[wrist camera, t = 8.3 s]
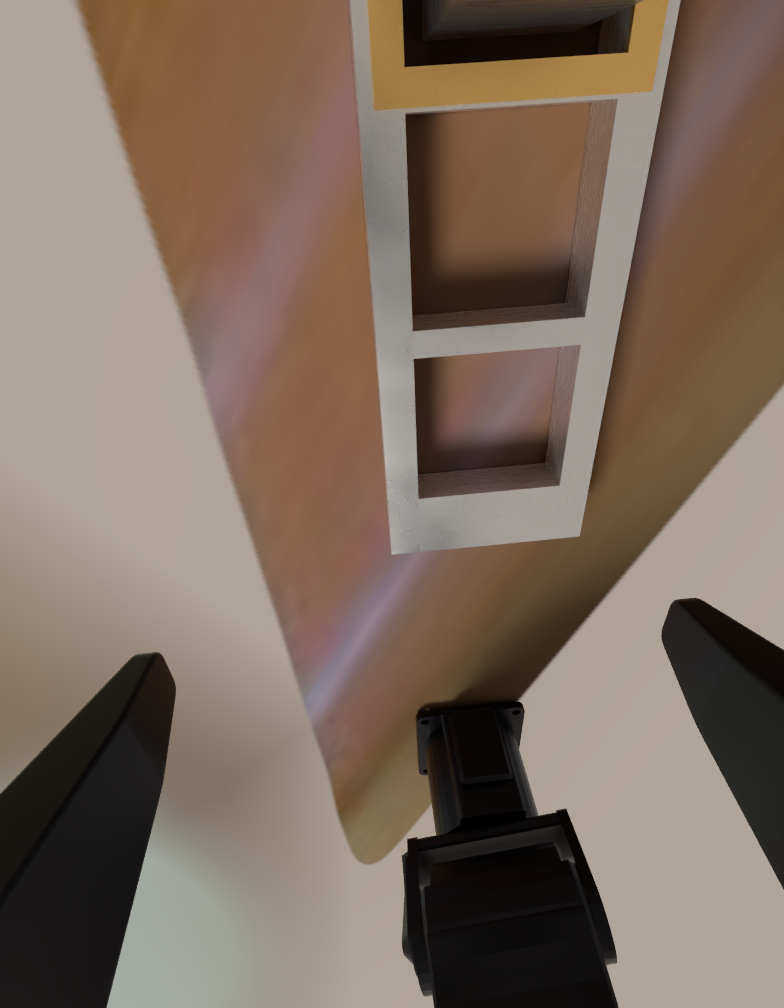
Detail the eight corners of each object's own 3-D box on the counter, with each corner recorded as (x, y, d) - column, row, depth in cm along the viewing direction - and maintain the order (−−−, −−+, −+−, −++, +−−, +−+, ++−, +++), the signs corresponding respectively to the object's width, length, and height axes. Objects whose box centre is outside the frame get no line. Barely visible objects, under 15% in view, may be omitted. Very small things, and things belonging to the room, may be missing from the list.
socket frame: (564, 511, 24) (581, 539, 22) (388, 528, 23) (392, 557, 22) (730, -509, 10) (806, -637, 8) (309, -498, 10) (303, -627, 8)
